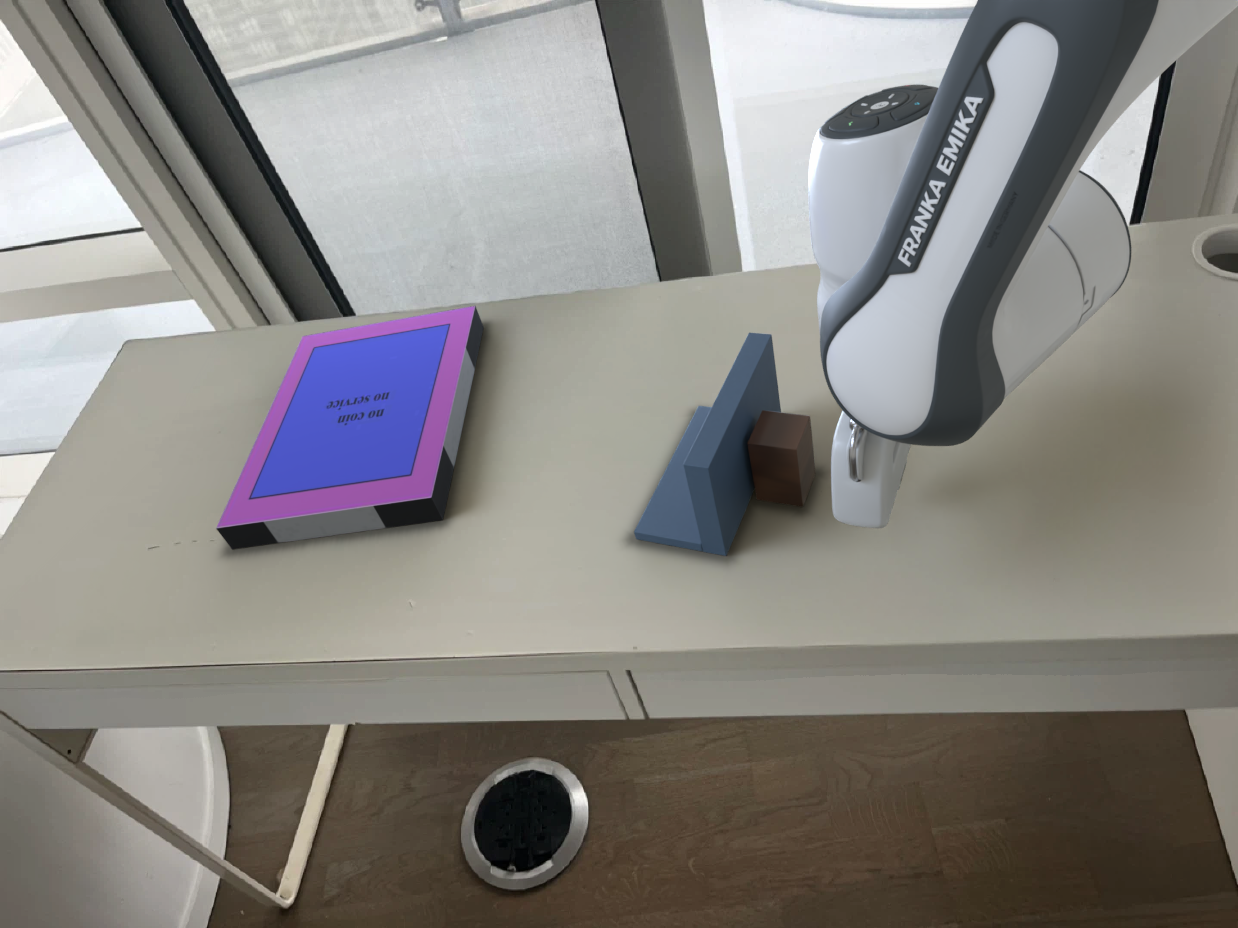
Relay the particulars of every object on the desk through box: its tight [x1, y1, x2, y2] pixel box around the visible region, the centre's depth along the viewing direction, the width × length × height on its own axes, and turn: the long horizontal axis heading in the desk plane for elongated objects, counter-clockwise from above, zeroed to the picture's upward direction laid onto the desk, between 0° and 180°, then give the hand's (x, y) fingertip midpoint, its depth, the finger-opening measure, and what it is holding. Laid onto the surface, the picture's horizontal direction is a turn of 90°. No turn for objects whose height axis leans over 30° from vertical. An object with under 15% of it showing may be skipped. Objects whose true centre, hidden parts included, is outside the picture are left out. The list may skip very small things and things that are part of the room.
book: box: [215, 305, 484, 550], centre depth 94 cm, size 21×3×30 cm
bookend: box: [633, 332, 782, 557], centre depth 76 cm, size 8×16×10 cm, turn 157°
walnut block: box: [747, 410, 816, 508], centre depth 75 cm, size 7×4×7 cm
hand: (891, 477), depth 71 cm, fingers closed
